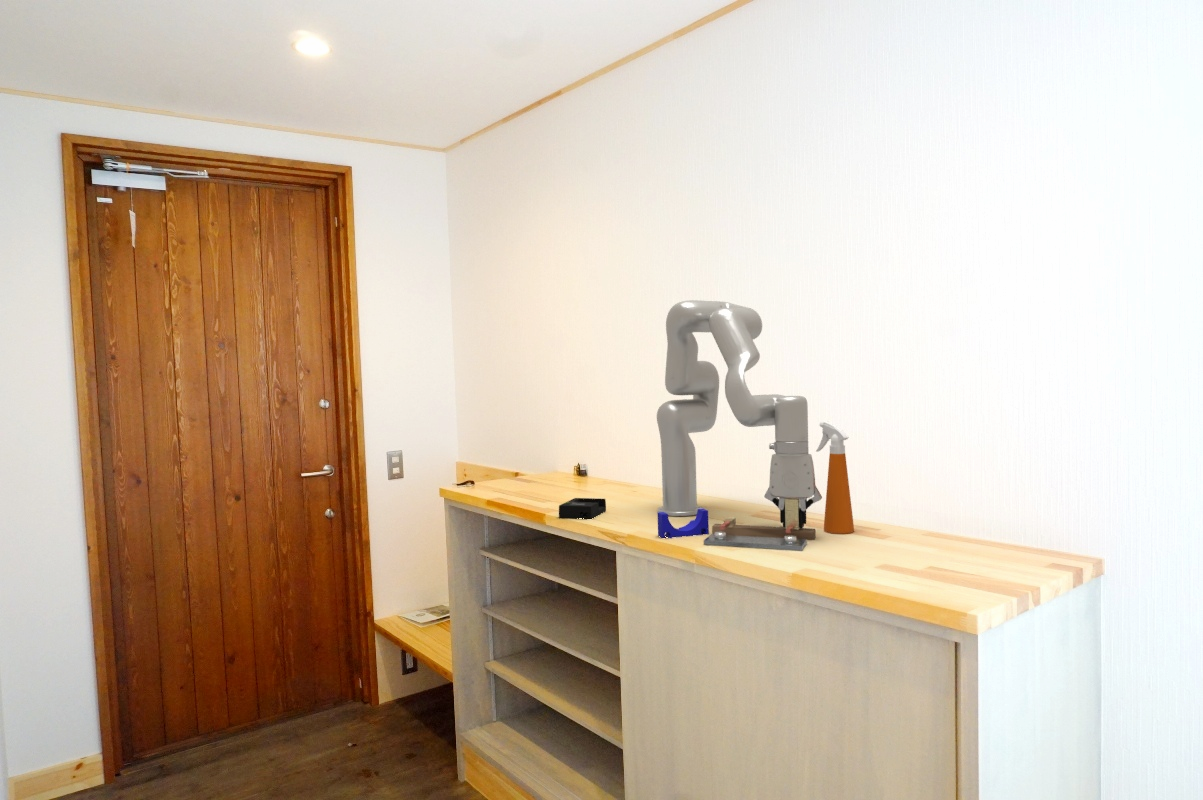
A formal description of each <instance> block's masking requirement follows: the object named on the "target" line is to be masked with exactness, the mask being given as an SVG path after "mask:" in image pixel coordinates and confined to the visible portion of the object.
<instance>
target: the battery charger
mask: <svg viewBox="0 0 1203 800" xmlns="http://www.w3.org/2000/svg"><path fill="white" fill-rule="evenodd" d="M603 512H604V513H606V512H607V504H606V498H595V497H593V498H592V497H591V498H590V497H589V498H587V497H574V498H572V499H570V500H568V501H565V502H563V503H561V504H559V505H558V516H559V517H558V518H559V519H561V520H562V519H564V520H580V519H579V518H582V519H581V520H587V519H592V518H593V519H595V518H596V516H597V517H598V515H599V516H601V515H602V514H604V513H603ZM601 513H602V514H601ZM594 517H595V518H594ZM577 518H578V519H577ZM583 518H584V519H583ZM593 519H592V520H593Z"/></svg>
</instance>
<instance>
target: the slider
mask: <svg viewBox="0 0 1203 800" xmlns="http://www.w3.org/2000/svg"><path fill="white" fill-rule="evenodd" d="M800 508H801V507H800V499H799V498H786V499H785V526H786V533H791V532H792V530H793V529H795V530H799V529H800V527H799V511H800Z"/></svg>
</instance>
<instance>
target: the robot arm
mask: <svg viewBox="0 0 1203 800" xmlns="http://www.w3.org/2000/svg"><path fill="white" fill-rule="evenodd" d="M665 330H666V339H667V340H666V343H667V349H666V361H665V362H666V363H665V371H664V372H665V376H664V386H665V389H666V391H667V392H668V393H669V394H671V395H673V396H692V398H690V399H688V398H687V399H685V398H684V399H672V400H668V401H665V402H663V403H662V404H661V405H660V406H659V407H658V409H657V412H656V423H657V427H658V432H659V437H660V449H661V451H660V452H661V455H660V456H661V457H660V458H661V478H662V479H661V480H662V481H661V482H662V483H661V485H662V487H661V488H662V506H659V507H658V508H657V513H658V512H664V513H666V514H668V517H686V516H687V517H689V516H695V515H696V516H697V509H704V508H703V507H702V506H699V505H698V502H697V501H698V500H697V499H698V498H697V497H698V496H697V495H698V493H697V491H698V490H697V459H696V458H697V457H696V456H697V455H696V447H695V444H694V443H693V441H692V438H691V436H690V434H692V433H693V434H695V433H703V432H704V433H705V432H707V431H709V430H711V429H712V428H713V427H714V425H715V423H716V420H717V415H718V414H717V413H718V404H719V403H718V402H719V393H720V392H719V390H720V376H719V371H718V369H717V367H716V366H715V365H714V364H713V363H712V362H710V361H707V360H698V358H699V356H698V355H699V345H698V342H697V339H696V336H694V334H693V333H711V335H712V338H713V339H714V341H715V343H716V345H717V347H718V349H719V351H720V353H721V356H722V357H723V361H724V362H725V364H726V366H727V372H726V376H725V379H724V393H725V399H726V401H727V403H728V405H729V408H730V409H731V412H732V413H733V415H734V417H735V419H736V420H737V421H738V423H739V424H741V425H742V426H744V427H748V428H755V427H756V428H757V427H767V426H768V427H771V426H774V434H775V435H774V436H775V437H774V442H772V443H769V444H768V448H769V450H773V451H774V453H773V454H771V459H770V464H769V465H770V469H769V486H768V488H767V490H766V492H765V494H764V498H765V499H767V500H768V501H770V502H772V503H773V504H774V505H775V506H776V507H777V508H778V510H779V513H780V514H779V517H780V518H779V519H780V521H779V522H780V523H781V524H782V527H786V526H785V499H786V498H799V499H800V507H801V508H800V511H799V527H800V528H804V527H805V525H807V510H808V508H810V507H811V506H812V505H813V504H815V503H817V502H819V501H821V500H822V499H823V496H822V494H821V492H820V491H819V488H818V487H817V485H816V476H815V467H814V461H813V456H812V454H810V453H809V419H808V417H809V416H808V415H809V412H808V411H809V410H808V406H809V405H808V400H807V398H806V397H804V396H802V395H783V394H776V393H774V394H755V395H754V394H753V395H752V394H751V391H750V390H749V388H748V386H747V383H746V380H745V373H746V372H747V371H749V370H751V369H752V368H753V367H755V366H756V364H757V363H759V361H760V358H761V355H760V351H759V350H758V348H757V345H756V344H755V342H754V340H755V339H757V338H758V337H759V336H760V335H761V333H762V331H763V322H762V318H761V316H760V315H759V313H758V312H757V311H756V310H755V309H753V308H751V307H748V306H747V307H746V306H743V305H738V304H735V303H730V302H726V301H717V300H693V299H692V300H682V301H679V302H677V303H675V304H673V306H671V308H670V309H669V310H668V312H667V315H666V321H665Z"/></svg>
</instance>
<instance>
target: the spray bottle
mask: <svg viewBox="0 0 1203 800" xmlns="http://www.w3.org/2000/svg"><path fill="white" fill-rule="evenodd" d="M819 427H820V428H822V438H821V441H820V443H819V445H818V446H817V449H816V450H815V452H820V451H821V450H823V449H824V448H825V446H826V445H827V444H828V442H829V441H830V445H829V457H828V469H827V470H828V471H827V481H826V495H825V507H824V508H825V509H824V517H823V518H824V520H823V531H824V532H826V533H830V534H835V535H836V534H837V535H846V534H851V533H854V532H855V525H854V518H853V517H854V516H853V508H852V501H851V491H850V482H849V481H850V480H849V474H848V464H847V457H846V455H847V454H846V445H845V443H844V441H847V440H848V439H849V436H848V435H847V433H846V432H845V431H844V430H843V429H841V428H839V427H838V426H837V425H834V424H833V423H831V422H829V421H820V422H819Z"/></svg>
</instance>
